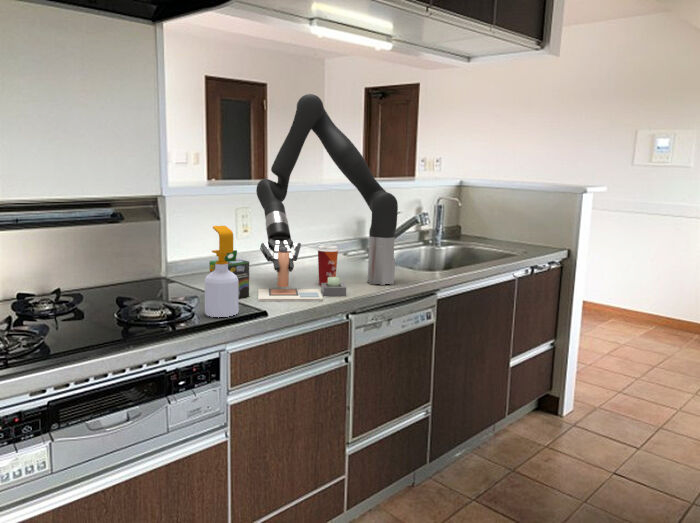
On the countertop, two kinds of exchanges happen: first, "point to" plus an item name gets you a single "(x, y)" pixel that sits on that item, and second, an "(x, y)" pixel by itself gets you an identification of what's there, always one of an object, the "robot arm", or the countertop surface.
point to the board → (289, 295)
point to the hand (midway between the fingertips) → (284, 270)
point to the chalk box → (237, 272)
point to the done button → (333, 281)
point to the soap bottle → (222, 280)
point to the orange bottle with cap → (283, 268)
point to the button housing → (333, 290)
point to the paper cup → (327, 262)
